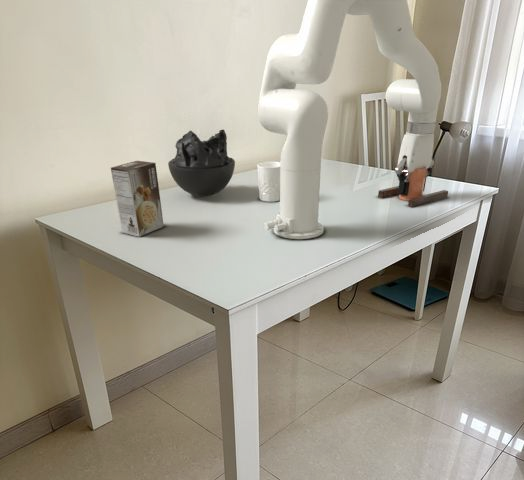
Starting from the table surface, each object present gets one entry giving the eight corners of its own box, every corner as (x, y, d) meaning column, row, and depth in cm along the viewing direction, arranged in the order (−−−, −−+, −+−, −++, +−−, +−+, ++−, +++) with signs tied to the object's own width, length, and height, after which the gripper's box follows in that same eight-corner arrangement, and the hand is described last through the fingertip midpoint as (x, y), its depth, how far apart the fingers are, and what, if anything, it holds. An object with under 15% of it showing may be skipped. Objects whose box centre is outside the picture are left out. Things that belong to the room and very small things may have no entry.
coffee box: (146, 223, 132) (137, 159, 123) (164, 227, 129) (156, 162, 120) (121, 233, 125) (109, 166, 116) (139, 237, 122) (129, 170, 114)
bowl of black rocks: (161, 202, 148) (153, 134, 138) (185, 185, 164) (180, 123, 154) (225, 206, 144) (221, 136, 134) (243, 188, 160) (241, 125, 150)
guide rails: (412, 207, 141) (413, 200, 140) (377, 197, 150) (378, 190, 149) (447, 197, 149) (448, 191, 148) (412, 188, 158) (413, 182, 157)
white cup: (281, 203, 146) (281, 167, 141) (255, 201, 147) (254, 166, 142) (285, 195, 153) (286, 162, 147) (260, 194, 154) (260, 161, 148)
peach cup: (411, 202, 146) (416, 170, 141) (394, 197, 150) (398, 166, 145) (426, 198, 149) (431, 167, 144) (409, 193, 153) (413, 163, 148)
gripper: (429, 124, 146) (419, 185, 155) (389, 130, 137) (381, 195, 147) (451, 127, 141) (439, 190, 150) (410, 133, 132) (401, 200, 142)
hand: (411, 192), depth 148 cm, fingers closed on peach cup, 6 cm apart
